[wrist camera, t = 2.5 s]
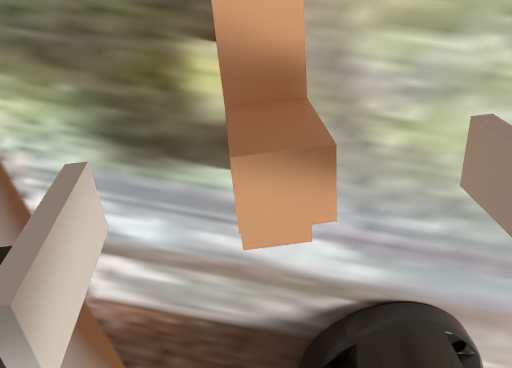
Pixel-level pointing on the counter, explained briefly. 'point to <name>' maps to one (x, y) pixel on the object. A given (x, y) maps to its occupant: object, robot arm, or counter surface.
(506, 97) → the counter surface
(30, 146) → the counter surface
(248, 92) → the clip
